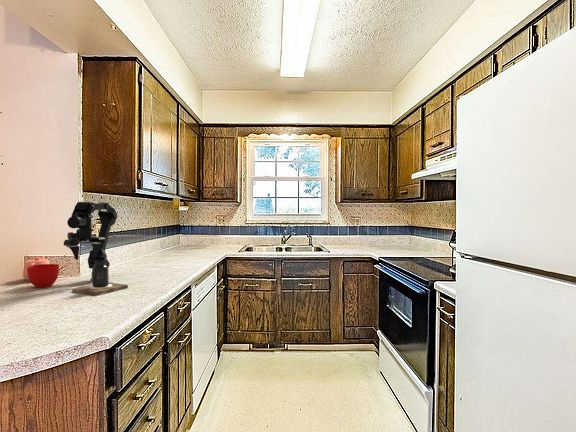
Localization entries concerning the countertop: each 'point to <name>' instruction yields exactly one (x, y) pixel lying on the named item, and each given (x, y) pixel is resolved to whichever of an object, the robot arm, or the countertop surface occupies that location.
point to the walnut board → (99, 289)
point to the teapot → (33, 262)
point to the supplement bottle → (100, 274)
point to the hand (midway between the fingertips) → (85, 258)
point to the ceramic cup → (43, 274)
